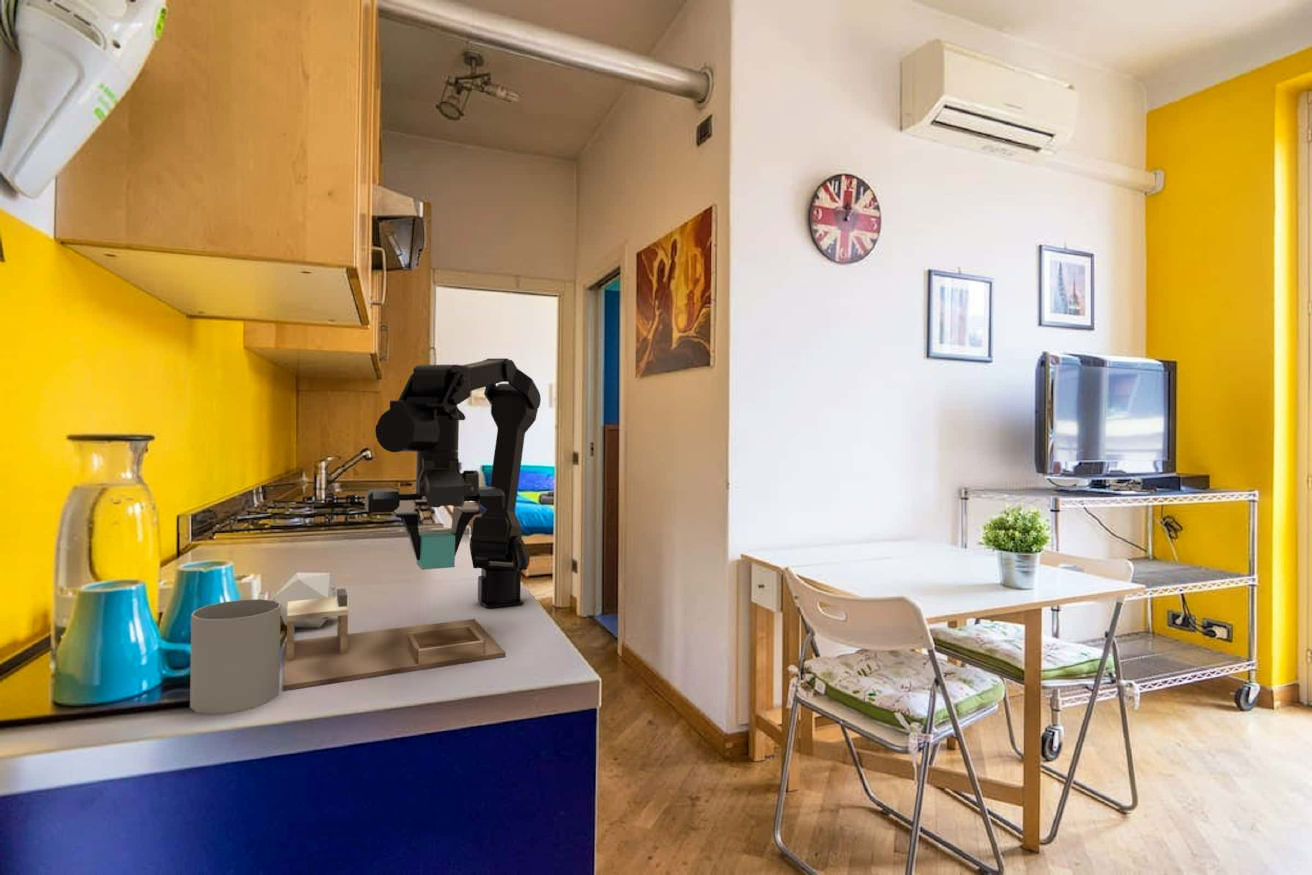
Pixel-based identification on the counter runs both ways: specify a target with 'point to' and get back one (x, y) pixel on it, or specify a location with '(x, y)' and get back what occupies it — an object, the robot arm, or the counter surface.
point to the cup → (234, 655)
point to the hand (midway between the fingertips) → (435, 558)
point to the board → (387, 653)
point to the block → (436, 550)
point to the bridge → (319, 610)
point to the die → (305, 594)
